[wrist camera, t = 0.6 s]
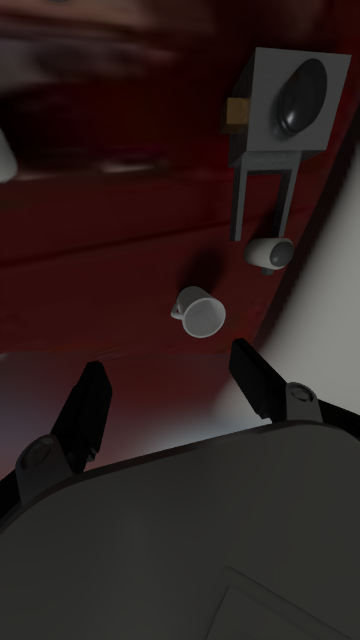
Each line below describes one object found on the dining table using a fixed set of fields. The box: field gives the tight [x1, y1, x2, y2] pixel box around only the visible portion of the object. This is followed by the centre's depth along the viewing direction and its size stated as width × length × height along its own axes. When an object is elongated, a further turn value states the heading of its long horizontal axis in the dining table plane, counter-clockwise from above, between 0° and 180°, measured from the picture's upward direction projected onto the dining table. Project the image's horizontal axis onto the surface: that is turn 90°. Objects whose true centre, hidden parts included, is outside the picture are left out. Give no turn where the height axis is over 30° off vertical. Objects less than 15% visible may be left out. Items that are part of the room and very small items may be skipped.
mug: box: [171, 286, 225, 338], centre depth 34 cm, size 11×9×10 cm
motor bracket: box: [220, 47, 352, 241], centre depth 26 cm, size 21×17×8 cm
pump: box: [244, 238, 294, 275], centre depth 33 cm, size 7×6×9 cm
